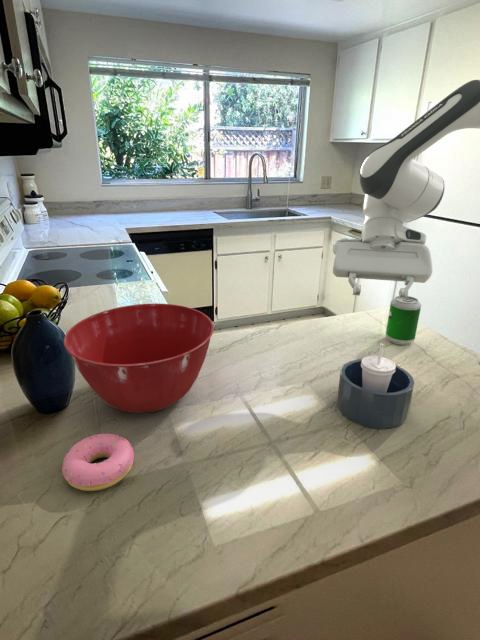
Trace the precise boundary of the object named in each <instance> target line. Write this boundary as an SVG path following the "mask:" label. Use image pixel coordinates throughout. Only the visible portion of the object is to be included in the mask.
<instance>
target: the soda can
mask: <svg viewBox="0 0 480 640" xmlns="http://www.w3.org/2000/svg"><path fill="white" fill-rule="evenodd" d="M421 308H422V304H421V302H420V301H419V299H418V298H416V297H414V296H409V295H408V297H407V299H399V295H397V296H395V297H394V298H392V299H391V300H390V305H389V311H388V318H387V323H386V329H385V337H386V338H387V339H388V341H389V342H391V343H392V344H395V345H400V346H406V345H410V344H411V343H412V342H414V341H415V339H416V334H417V330H418V325H419V320H420V314H421Z"/></svg>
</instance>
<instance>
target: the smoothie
mask: <svg viewBox="0 0 480 640" xmlns="http://www.w3.org/2000/svg"><path fill="white" fill-rule="evenodd" d="M378 349H379V350H378V355H367V356H365V357H363V358H361V359H362V362H361V367H362V388H363V389H367V390H370V391H374V392H382V393H386V392H387V389H388V386H389V383H390V380H391V377H392V374H393V373H394V372H395V368H396V363H395V362H394V361H393V360H391V359H390V358H387V357H385V356H382V355H383V349H384V343H381V342H380V344H379V348H378Z"/></svg>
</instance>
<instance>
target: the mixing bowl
mask: <svg viewBox="0 0 480 640" xmlns="http://www.w3.org/2000/svg"><path fill="white" fill-rule="evenodd" d="M214 330H215V326H214V323H213V320H212V319H211V318H210V317H209V316H208V315H207V314H205V313H204V312H202V311H200V310H198V309H195V308H192V307H188V306H184V305H179V304H172V303H153V302H152V303H151V302H150V303H138V304H131V305H124V306H118V307H113V308H110V309H105V310H103V311H100V312H97V313H95V314H92V315H89V316H87V317H86V318H83V319H82V320H80V321H78V322H76V323H75V324H74V325H73V326H71V328H69V330H68V331H67V332H66V333H65V335H64V339H63V347H64V348H65V350H66V351H67V353H69V355H70V357H71V359H72V360H73V363H74V365H75V366H76V368H77V370H78V372H79V373H80V374H81V377H83V379H84V380H85V382H86V383H87V384H88V386H89V387H90V388H91V389H92V390H93V392H94V393H95V394H96V395H97V396H98V397H99V398H100V399H101V400H102V401H103V402H104V403H106V405H108V406H110V407H112V408H113V409H117V410H120V411H123V412H127V413H134V412H135V413H134V414H147V413H146V412H149V413H154V412H158V411H161V410H164V409H167V408H168V407H170V406H172V405H174V404H176V403H177V402H179V401H181V399H183V398H184V397H185V396H186V395H187V394H188V393H189V392H190V390H191V389H192V387H193V385H194V383H195V382H196V380H197V378H198V376H199V374H200V372H201V370H202V367H203V365H204V362H205V359H206V358H207V357H206V356H207V353H208V349H209V347H210V343H211V337H212V336H213V334H214V332H215V331H214ZM157 410H158V411H157ZM153 411H154V412H153Z"/></svg>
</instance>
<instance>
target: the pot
mask: <svg viewBox="0 0 480 640" xmlns="http://www.w3.org/2000/svg"><path fill="white" fill-rule="evenodd" d="M362 359H363V358H359V359H353V360H350V361H348V362H346V363H344V364H343V365H342V366H341V368H340V372H339V382H338V387H337V388H338V389H337V396H336V397H337V399H336V405H337V409H338V411H339V412H340V413H341V414H342V416H344V417H345V419H348V420H349V421H351V422H353V423H354V424H357V425H359V426H363V427H365V428H370V429H377V430H389V429H394V428H397V427H400V426H401V425H404V423H405V422H406V421H407V420H408V416H409V412H410V407H411V403H412V402H411V401H412V395H413V393H414V392H413V391H414V387H415V380H414V377H413V376H412V375H411V373H409V372H408V371H407V370H405V368H402V367H401V366H399V365H396V364H395V365H396V368H395V372H394V373H393V374H392V377H391V380H390V383H389V386H388V389H387V392H386V393H382V392H374V391H370V390H367V389H363V388H362V367H361V362H362Z"/></svg>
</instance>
